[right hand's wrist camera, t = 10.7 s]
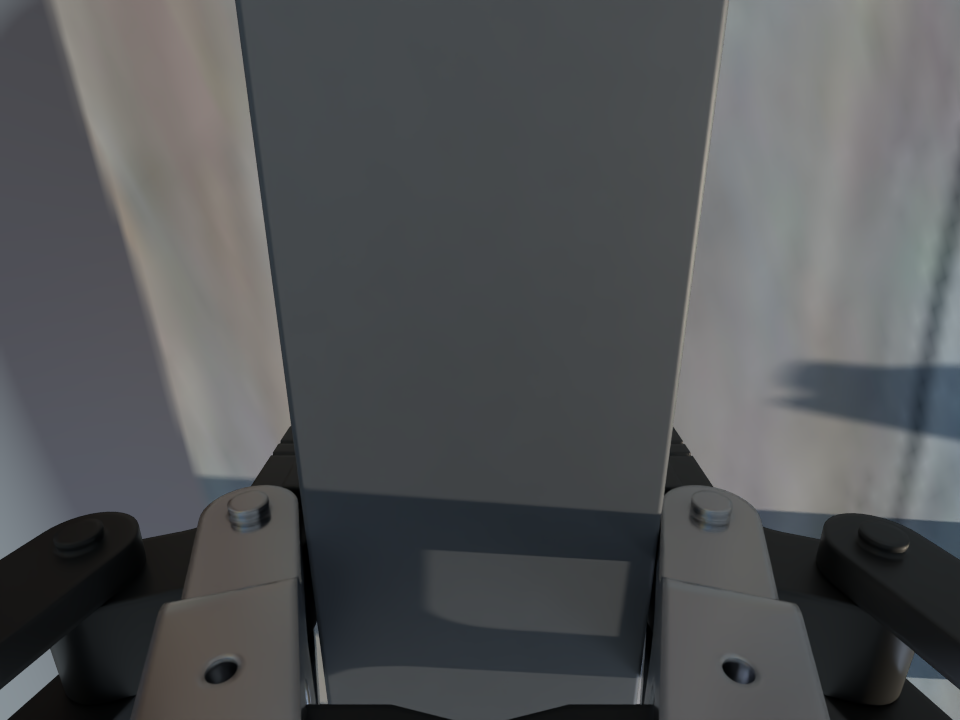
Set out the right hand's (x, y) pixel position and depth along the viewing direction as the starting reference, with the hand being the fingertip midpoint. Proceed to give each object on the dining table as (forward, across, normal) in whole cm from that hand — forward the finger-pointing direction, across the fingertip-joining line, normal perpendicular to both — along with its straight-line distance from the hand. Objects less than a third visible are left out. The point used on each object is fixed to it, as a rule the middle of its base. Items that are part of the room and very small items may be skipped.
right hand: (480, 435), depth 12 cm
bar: (+3, 0, -26) cm, 26 cm away
